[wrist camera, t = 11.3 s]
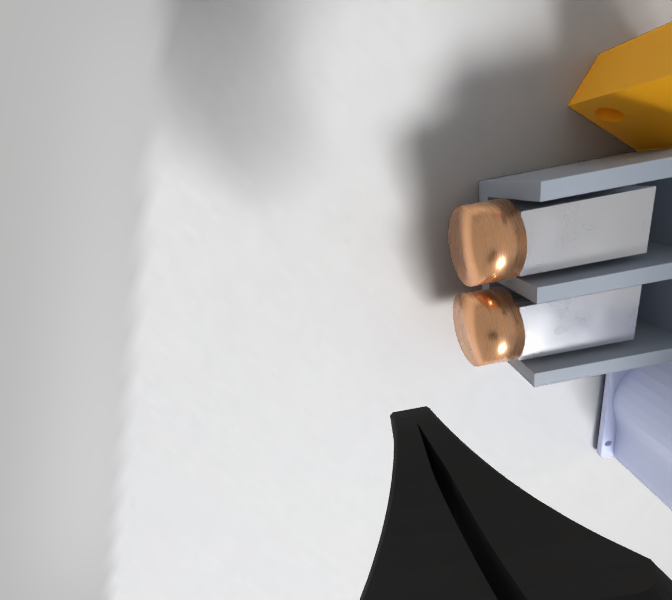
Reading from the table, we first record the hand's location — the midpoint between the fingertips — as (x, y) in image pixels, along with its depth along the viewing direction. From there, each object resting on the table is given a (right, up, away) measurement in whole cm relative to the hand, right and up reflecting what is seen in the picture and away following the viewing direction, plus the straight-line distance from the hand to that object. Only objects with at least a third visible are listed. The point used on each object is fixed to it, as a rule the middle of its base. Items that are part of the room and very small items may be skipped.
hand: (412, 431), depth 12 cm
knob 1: (+7, +9, +6) cm, 13 cm away
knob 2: (+8, +5, +8) cm, 12 cm away
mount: (+11, +8, +8) cm, 15 cm away
